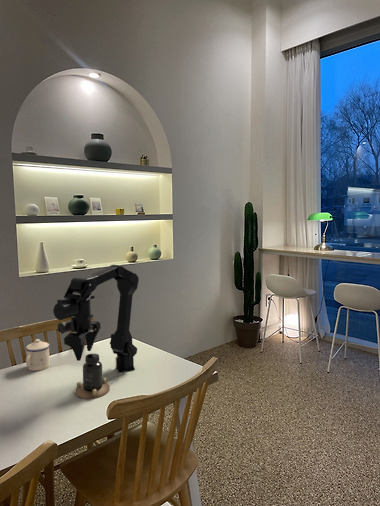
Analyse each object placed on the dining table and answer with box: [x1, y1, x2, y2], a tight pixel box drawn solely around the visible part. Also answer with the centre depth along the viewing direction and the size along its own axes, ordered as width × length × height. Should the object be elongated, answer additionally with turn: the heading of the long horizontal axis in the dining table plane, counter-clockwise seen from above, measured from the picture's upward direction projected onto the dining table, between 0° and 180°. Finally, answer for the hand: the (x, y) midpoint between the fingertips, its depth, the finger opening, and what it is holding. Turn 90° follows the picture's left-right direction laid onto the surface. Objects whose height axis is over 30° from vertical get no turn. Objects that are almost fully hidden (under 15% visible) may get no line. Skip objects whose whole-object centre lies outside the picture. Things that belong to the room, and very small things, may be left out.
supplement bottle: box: [82, 353, 103, 392], centre depth 141 cm, size 7×7×12 cm
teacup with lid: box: [25, 338, 51, 372], centre depth 161 cm, size 12×9×12 cm
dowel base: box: [74, 377, 111, 400], centre depth 141 cm, size 12×12×3 cm
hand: (84, 355), depth 140 cm, fingers open, 9 cm apart
